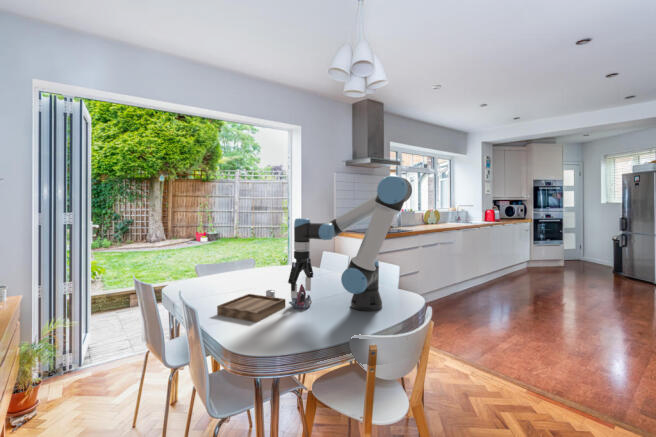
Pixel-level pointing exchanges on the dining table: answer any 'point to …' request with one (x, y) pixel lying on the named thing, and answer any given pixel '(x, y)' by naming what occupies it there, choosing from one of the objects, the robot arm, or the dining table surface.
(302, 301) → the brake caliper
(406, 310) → the dining table surface
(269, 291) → the steel bushing
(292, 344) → the dining table surface
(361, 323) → the dining table surface
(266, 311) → the wooden tray
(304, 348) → the dining table surface
